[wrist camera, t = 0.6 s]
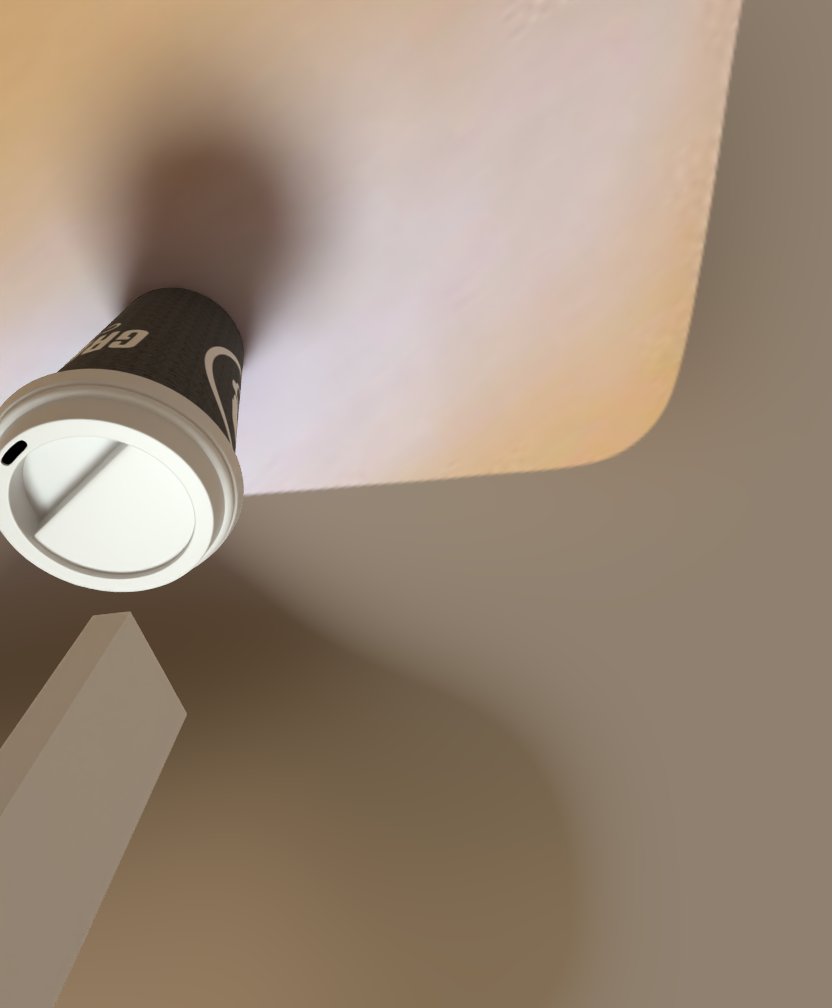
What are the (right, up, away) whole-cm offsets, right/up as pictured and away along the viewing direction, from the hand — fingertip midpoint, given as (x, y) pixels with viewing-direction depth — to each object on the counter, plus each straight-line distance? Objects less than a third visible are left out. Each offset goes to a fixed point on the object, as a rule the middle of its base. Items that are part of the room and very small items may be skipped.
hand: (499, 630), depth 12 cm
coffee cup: (-14, +11, +26) cm, 32 cm away
